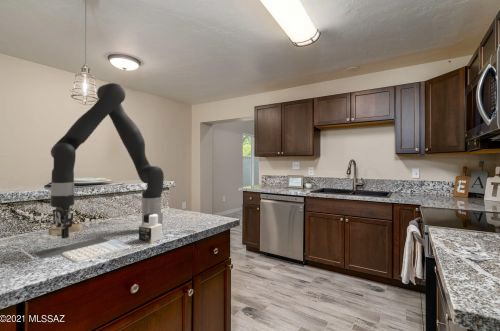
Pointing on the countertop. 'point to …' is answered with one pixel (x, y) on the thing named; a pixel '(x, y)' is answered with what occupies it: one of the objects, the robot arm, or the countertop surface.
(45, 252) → the mat
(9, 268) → the countertop surface
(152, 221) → the medicine bottle
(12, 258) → the countertop surface
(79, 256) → the calculator
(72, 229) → the domino
